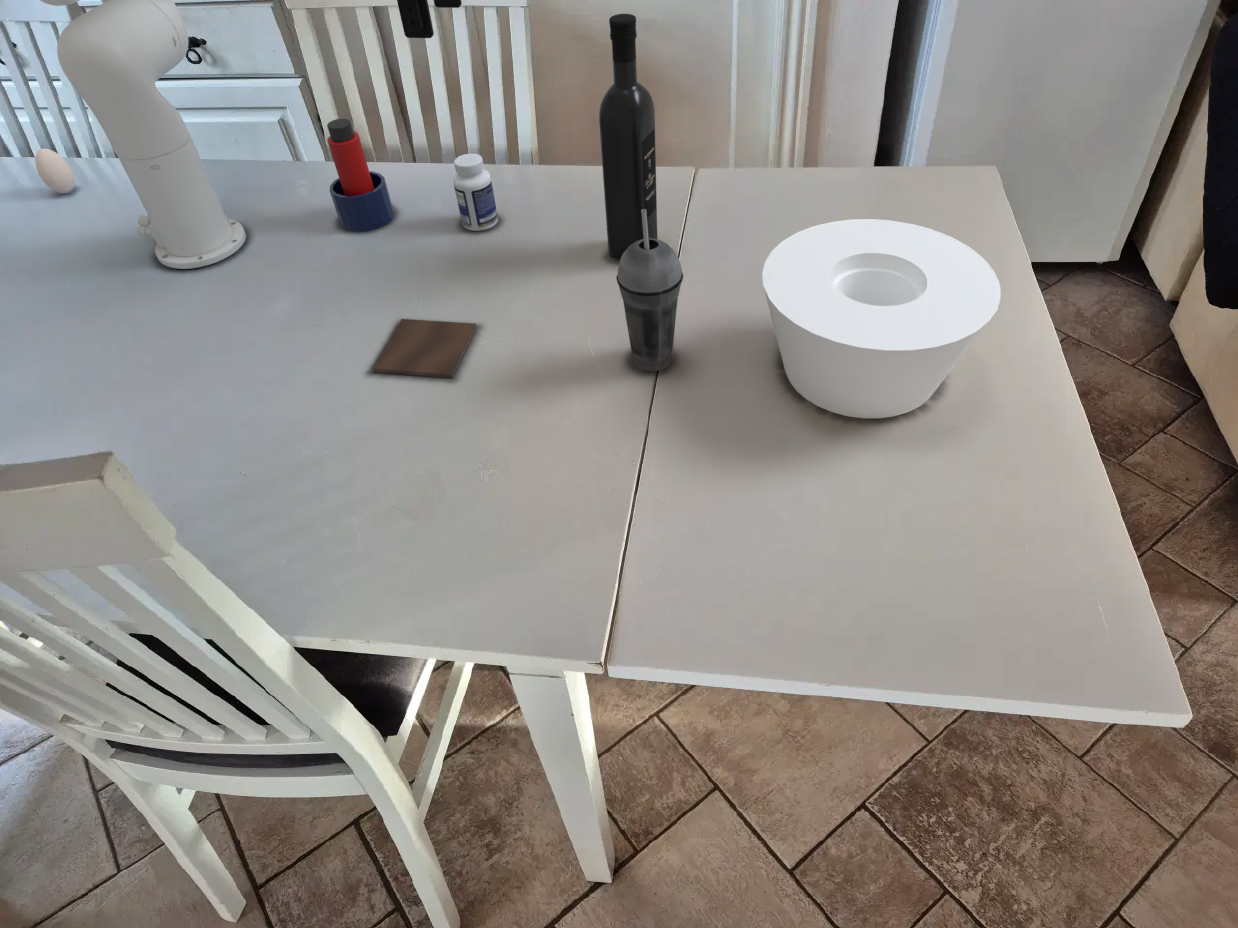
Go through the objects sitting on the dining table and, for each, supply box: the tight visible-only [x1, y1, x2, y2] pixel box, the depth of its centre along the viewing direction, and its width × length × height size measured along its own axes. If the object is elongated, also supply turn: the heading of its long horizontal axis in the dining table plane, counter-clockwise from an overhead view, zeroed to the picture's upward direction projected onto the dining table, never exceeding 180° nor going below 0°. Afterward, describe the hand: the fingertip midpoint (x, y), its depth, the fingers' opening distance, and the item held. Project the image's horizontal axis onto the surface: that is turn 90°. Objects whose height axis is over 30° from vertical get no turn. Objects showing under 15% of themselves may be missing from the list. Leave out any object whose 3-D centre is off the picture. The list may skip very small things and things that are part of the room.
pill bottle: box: [452, 153, 499, 232], centre depth 117 cm, size 5×5×10 cm
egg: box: [34, 148, 76, 195], centre depth 132 cm, size 5×5×7 cm
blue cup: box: [329, 170, 395, 232], centre depth 121 cm, size 8×8×6 cm
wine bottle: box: [598, 13, 658, 261], centre depth 102 cm, size 6×6×30 cm
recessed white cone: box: [761, 218, 1002, 419], centre depth 89 cm, size 24×24×12 cm
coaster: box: [372, 318, 477, 379], centre depth 100 cm, size 10×10×1 cm
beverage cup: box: [615, 209, 684, 372], centre depth 89 cm, size 7×7×20 cm
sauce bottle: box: [326, 118, 374, 196], centre depth 118 cm, size 4×4×14 cm
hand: (434, 21), depth 92 cm, fingers open, 9 cm apart
